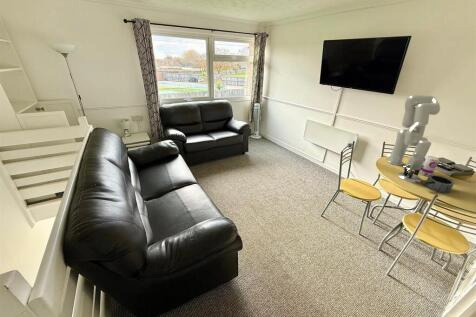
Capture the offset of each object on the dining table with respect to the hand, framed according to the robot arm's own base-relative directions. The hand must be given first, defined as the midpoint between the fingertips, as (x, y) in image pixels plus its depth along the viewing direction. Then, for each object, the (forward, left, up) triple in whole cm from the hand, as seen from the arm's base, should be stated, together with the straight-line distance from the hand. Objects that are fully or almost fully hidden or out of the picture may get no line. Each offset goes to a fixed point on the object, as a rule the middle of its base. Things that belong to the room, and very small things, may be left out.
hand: (410, 175), depth 165 cm
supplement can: (-4, +19, -3) cm, 20 cm away
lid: (0, 0, -3) cm, 3 cm away
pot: (+15, +7, -2) cm, 17 cm away
